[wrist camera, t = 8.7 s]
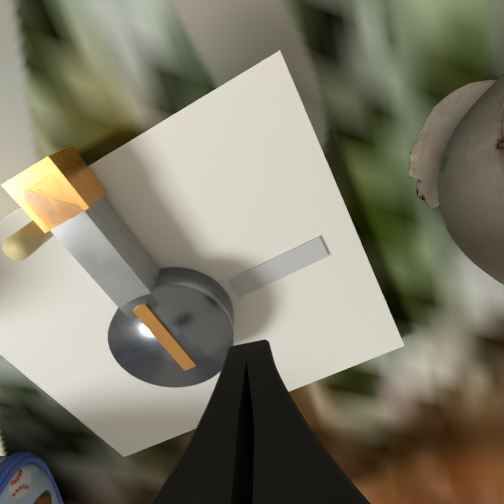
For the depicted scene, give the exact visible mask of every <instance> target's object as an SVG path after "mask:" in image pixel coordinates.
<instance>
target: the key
mask: <svg viewBox="0 0 504 504" xmlns="http://www.w3.org/2000/svg"><path fill="white" fill-rule="evenodd" d="M2 186H3V187H4V188H5V190H6V191H7V192H8V193H9V194H10V195H11V196H12V197H13V198H14V199H15V201H16V202H17V203H18V204H19V205H20V206H21V207H22V208H23V210H24V211H25V212H26V213H27V214H28V215H29V216H30V217H31V218H32V219H33V221H34V222H35V223H36V224H37V225H38V226H39V227H40V228H41V229H42V231H43V232H44V233H46V232H48V231H51V232H52V233H53V234H54V236H55V237H56V238H57V239H58V240H59V241H60V242H61V243H62V245H63V246H64V247H65V248H66V249H67V250H68V251H69V252H70V254H71V255H72V256H73V257H74V258H75V259H76V260H77V261H78V263H79V264H80V265H81V266H82V267H83V268H84V269H85V270H86V272H87V273H88V274H89V275H90V276H91V277H92V278H93V279H94V281H95V282H96V283H97V284H98V285H99V286H100V287H101V288H102V289H103V291H104V292H105V293H106V294H107V295H108V296H109V297H110V298H111V300H112V301H113V302H114V303H115V304H116V305H117V306H118V309H117V310H116V312H115V314H114V316H113V318H112V320H111V323H110V325H109V329H108V344H109V348H110V351H111V353H112V355H113V357H114V358H115V360H116V361H117V363H118V364H119V365H120V366H121V367H122V368H123V369H124V370H125V371H126V372H128V373H129V374H131V375H132V376H134V377H136V378H137V379H139V380H142V381H144V382H146V383H149V384H152V385H157V386H161V387H172V388H178V387H188V386H193V385H197V384H200V383H203V382H205V381H207V380H209V379H211V378H213V377H214V376H216V375H217V374H218V373H219V372H221V369H222V366H223V364H224V361H225V357H226V354H227V351H228V349H229V347H230V346H233V345H234V310H233V305H232V302H231V300H230V297H229V296H228V294H227V292H226V291H225V290H224V289H223V287H222V286H221V285H220V284H219V283H218V282H216V281H215V280H214V279H212V278H211V277H209V276H207V275H205V274H203V273H201V272H198V271H195V270H192V269H187V268H180V267H167V268H161V269H159V268H158V266H157V265H156V264H155V262H154V261H153V260H152V258H151V257H150V256H149V254H148V253H147V252H146V251H145V249H144V248H143V247H142V245H141V244H140V243H139V241H138V240H137V239H136V237H135V236H134V235H133V234H132V232H131V231H130V230H129V228H128V227H127V226H126V224H125V223H124V222H123V220H122V219H121V218H120V217H119V215H118V214H117V213H116V211H115V210H114V209H113V207H112V206H111V205H110V204H109V202H108V201H107V200H106V198H105V197H104V195H105V194H106V193H107V191H106V189H105V188H104V187H103V185H102V184H101V183H100V182H99V180H98V179H97V178H96V176H95V175H94V174H93V172H92V171H91V170H90V168H89V167H88V166H87V164H86V163H85V162H84V160H83V159H82V158H81V156H80V155H79V154H78V152H77V151H76V150H75V148H74V147H73V146H72V147H69V148H67V149H65V150H62V151H60V152H57V153H55V154H52V155H50V156H48V157H46V158H44V159H43V160H41V161H40V162H38V163H36V164H35V165H33V166H31V167H30V168H28V169H27V170H25V171H24V172H22V173H20V174H19V175H17V176H16V177H14V178H12V179H11V180H9V181H7V182H6V183H4V184H3V185H2Z"/></svg>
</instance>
